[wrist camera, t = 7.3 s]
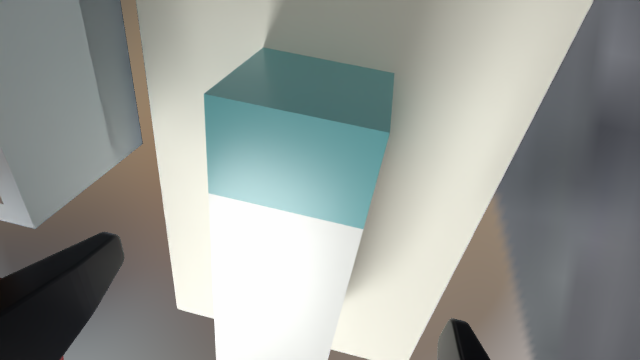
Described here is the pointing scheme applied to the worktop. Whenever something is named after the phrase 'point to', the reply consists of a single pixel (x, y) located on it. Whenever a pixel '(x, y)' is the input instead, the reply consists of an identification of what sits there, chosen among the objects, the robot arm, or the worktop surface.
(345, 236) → the milk carton
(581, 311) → the worktop surface
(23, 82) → the button housing
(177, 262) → the paper sheet
